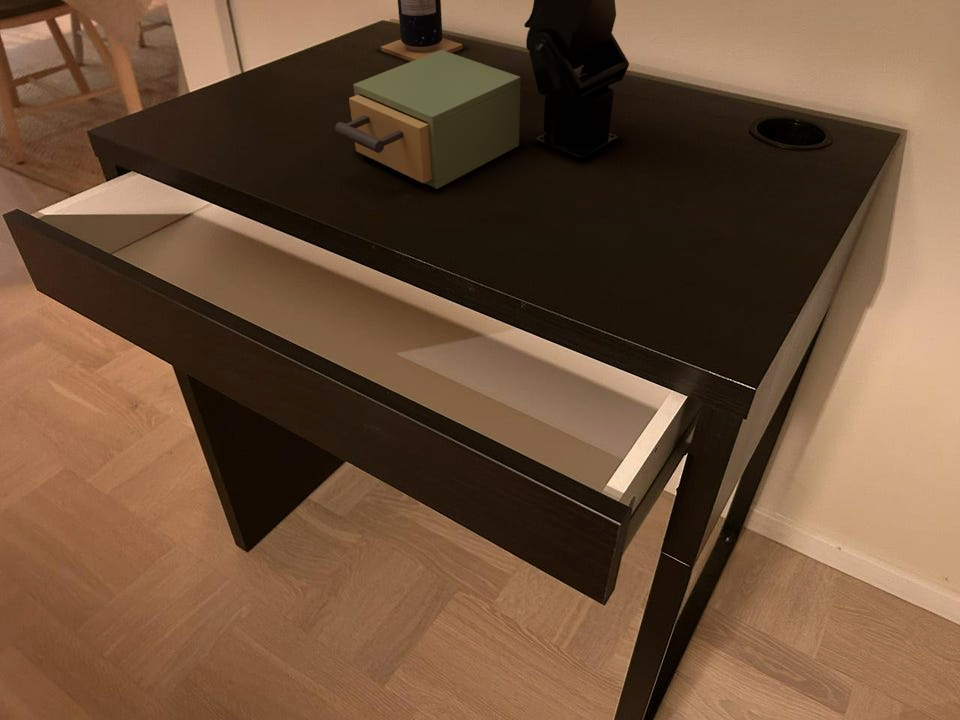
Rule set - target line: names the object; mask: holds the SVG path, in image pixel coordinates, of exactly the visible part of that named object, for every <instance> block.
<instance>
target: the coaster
mask: <svg viewBox="0 0 960 720" xmlns="http://www.w3.org/2000/svg"><path fill="white" fill-rule="evenodd" d="M463 49H464V45H463V44H462V43H459V42H456V41H453V40H450V39H447V38H445V37H443V39H442V41H441V42H440V43H439V44H438V45H437V47H436V48H434V49H432V50H429V51H413V50H410V49H408V48H407V46H406V45H405V44H404V43H403V42H402V41H401V38H400V39H397V40H395V41H392V42H389V43H387V44H384V45H382V46H380V51H381V52H383V53H385V54H389V55H391V56H394V57H396V58H399V59H401V60H405V61H408V62H412V61H414V60H417V59H419V58H422V57H424V56H427V55H429V54H432V53H435V52H437V51H440V50H443V51H446V52H449V53H452V54H454V53H455V52H458V51H461V50H463Z"/></svg>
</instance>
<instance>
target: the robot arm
mask: <svg viewBox="0 0 960 720" xmlns="http://www.w3.org/2000/svg"><path fill="white" fill-rule="evenodd" d="M616 18H617V9H616V0H533V4H532V10H531V13H530V15H529V18H528V19H527V20H526V22H525V23H524V28H526V29H527V28H528V31H527V34H526V39H525V41H526V42H525V43H526V44H525V45H526V50H527V51H528V53H529V58H530V62H531V66H532V72H533V76H534V80H535V83H536V88H537V93H538V94H540V95H542V96H544V110H543V111H544V112H543V132H544V133H543V134H541V135H539V136H537V137H536V143H537V144H538V145H541V146H543V147H546V148H548V149H550V150H553V151H556V152H558V153H561V154H564V155H566V156H568V157H571V158H574V159H576V160H579V161H585V160H587V159H588V158H590V157H592V156H594V155H595V154H597V153H599V152H600V151H602V150H603V149H605V148H607V147H609V146H611V145H612V144H614V143H616V142H617V140H618V136H617V135H616V134H613V133H610V131H611V121H612V111H613V102H614V94H615V89H613V88H610V87H609V86H612V85H613V84H615V83H617V82H618V83H619V82H621V81H622V80H624V77H625V75H626V73H627V71H628V69H629V66H630V62H629V59H627V57H626V54H625V53H624V51H623V50H622V48H621V46H620V45H619V43H618V41H617V39H616V38H615V36H614V34H613V30H614V25H615V22H616Z"/></svg>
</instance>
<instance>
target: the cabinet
mask: <svg viewBox="0 0 960 720" xmlns="http://www.w3.org/2000/svg"><path fill="white" fill-rule="evenodd" d="M521 79H522V78H521V76H519V75H516V74H514V73H510V72H507V71H505V70H501V69H498V68H495V67H493V66H490V65H487V64H483V63H481V62H479V61H475V60H472V59H469V58H466V57H464V56H461V55H458V54H455V53H449V52H446V51H443V50H440V51H437V52H435V53H432V54H429V55H427V56H424V57H422V58H419V59H417V60H414V61H412V62H410V61H408V62H406V63H404V64H402V65H399V66H396V67H393V68H391V69H389V70H386V71H384V72H381V73H378V74H376V75H373V76H371V77H369V78H366V79H363V80H360V81H358V82H355V83H353V84H352V85H353V96H356V95H360V96H362V97H365V98H367V99H369V100H372V101H373V100H376V101H378V102H380V103H383V104H385V105H388V106H390V107H392V108H395V109H397V110H400V111H402V112H404V113H407V114H409V115H411V116H414V117H416V118H419V119H421V120H423V121H426V122H428V126H429V141H430V157H431V172H432V179H431V180H430V181H428V182H426V183H424V184H425V185H427V186H429V187H432V188H433V189H436V190H438V189H440V188H442V187H444V186H445V185H448V184H449V183H451V182H453V181H455V180H458V179H459V178H461V177H463V176H465V175H466V174H468V173H471V172H472V171H474V170H476V169H478V168H480V167H481V166H483V165H486V164H487V163H489V162H491V161H493V160H494V159H497V158H499V157H501V156H502V155H504V154H506V153H508V152H510V151H512V150H514V149H516V148H518V147H519V146H520V125H521V123H520V122H521V121H520V120H521Z"/></svg>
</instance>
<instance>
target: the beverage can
mask: <svg viewBox="0 0 960 720" xmlns="http://www.w3.org/2000/svg"><path fill="white" fill-rule="evenodd" d="M397 9H398V19H399V21H398V22H399V32H400V33H399V34H400V39H401V41H402V42H403V43H404V44H405V45H406V46H407V48H408V49H410V50H413V51H429V50H432V49H434V48H436V47H437V45H438V44H439V43H440V42H441V41H442V39H443V38H444V37H443V17H442V0H397Z"/></svg>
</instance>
